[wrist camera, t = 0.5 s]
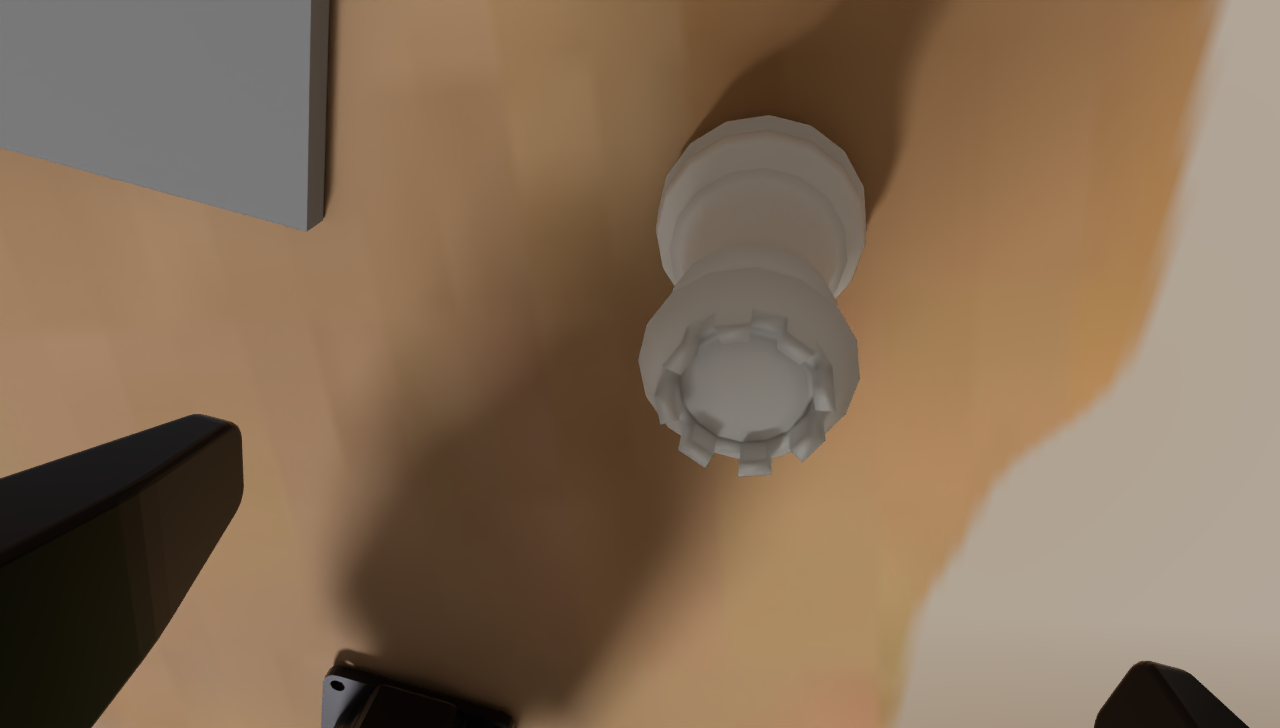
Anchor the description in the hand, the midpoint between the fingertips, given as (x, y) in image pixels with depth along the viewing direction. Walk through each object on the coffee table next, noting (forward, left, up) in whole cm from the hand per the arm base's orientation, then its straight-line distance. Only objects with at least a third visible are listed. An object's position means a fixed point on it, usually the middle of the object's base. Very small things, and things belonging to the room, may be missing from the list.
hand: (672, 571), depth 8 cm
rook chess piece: (0, -1, -12) cm, 12 cm away
